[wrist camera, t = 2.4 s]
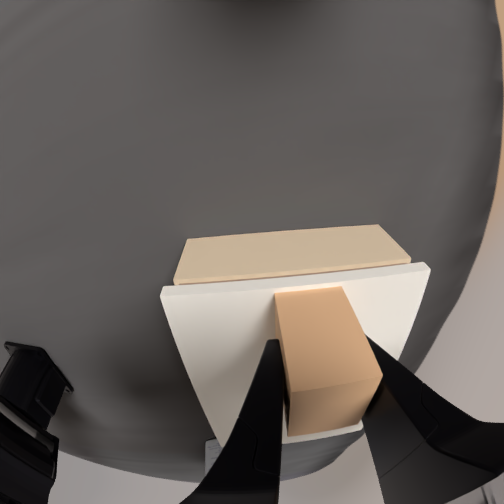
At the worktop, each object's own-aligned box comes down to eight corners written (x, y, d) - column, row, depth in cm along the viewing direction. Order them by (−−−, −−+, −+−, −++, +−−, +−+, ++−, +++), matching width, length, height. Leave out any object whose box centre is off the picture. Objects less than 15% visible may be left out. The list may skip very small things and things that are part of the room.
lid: (221, 440, 17) (221, 494, 13) (163, 286, 10) (130, 390, 6) (359, 423, 17) (373, 473, 13) (423, 261, 10) (486, 336, 6)
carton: (224, 394, 20) (223, 436, 17) (187, 239, 14) (171, 285, 10) (344, 380, 21) (356, 419, 17) (377, 224, 14) (415, 262, 10)
